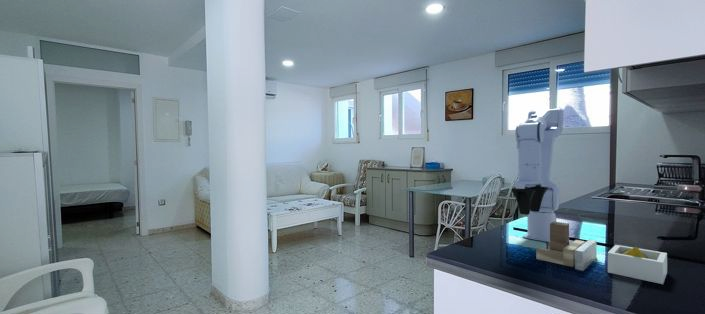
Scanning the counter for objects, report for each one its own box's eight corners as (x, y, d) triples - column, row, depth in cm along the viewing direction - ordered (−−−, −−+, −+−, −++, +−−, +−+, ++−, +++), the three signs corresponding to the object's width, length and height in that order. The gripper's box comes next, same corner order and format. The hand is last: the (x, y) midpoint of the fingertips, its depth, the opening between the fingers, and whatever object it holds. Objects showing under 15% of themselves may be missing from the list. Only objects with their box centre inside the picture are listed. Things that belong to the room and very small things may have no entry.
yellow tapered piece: (655, 274, 71) (660, 252, 66) (630, 282, 72) (633, 261, 67) (635, 254, 76) (638, 232, 70) (612, 262, 77) (614, 241, 71)
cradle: (550, 249, 88) (550, 235, 88) (585, 256, 82) (585, 241, 82) (536, 258, 81) (536, 243, 81) (573, 267, 75) (573, 250, 75)
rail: (589, 256, 82) (589, 239, 82) (596, 258, 81) (596, 240, 81) (575, 269, 74) (575, 250, 74) (582, 270, 73) (582, 251, 73)
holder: (615, 262, 77) (615, 244, 77) (667, 272, 71) (667, 253, 71) (607, 272, 72) (607, 252, 72) (663, 284, 65) (662, 262, 65)
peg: (553, 254, 84) (553, 221, 84) (569, 257, 82) (569, 223, 82) (550, 258, 82) (549, 223, 82) (566, 261, 79) (565, 225, 79)
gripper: (524, 164, 97) (524, 208, 97) (504, 165, 88) (504, 213, 88) (550, 164, 92) (550, 211, 92) (531, 165, 82) (531, 217, 82)
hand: (529, 212), depth 89 cm, fingers open, 7 cm apart
